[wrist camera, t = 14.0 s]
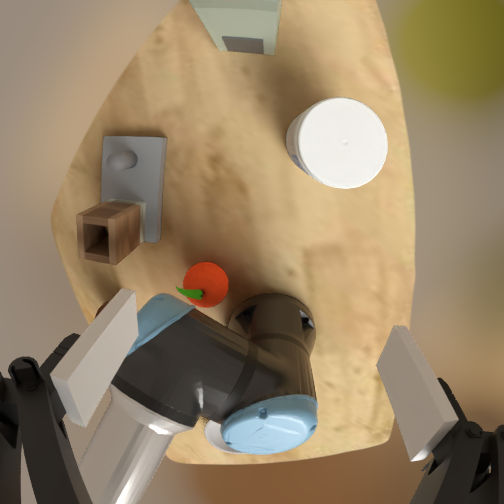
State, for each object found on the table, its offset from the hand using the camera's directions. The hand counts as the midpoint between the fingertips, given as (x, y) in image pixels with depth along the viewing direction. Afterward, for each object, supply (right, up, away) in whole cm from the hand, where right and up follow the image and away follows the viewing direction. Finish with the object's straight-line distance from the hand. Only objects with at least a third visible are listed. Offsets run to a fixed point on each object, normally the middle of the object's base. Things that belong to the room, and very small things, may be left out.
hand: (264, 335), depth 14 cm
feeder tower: (-1, +36, +20) cm, 41 cm away
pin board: (-19, +14, +30) cm, 38 cm away
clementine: (-8, 0, +35) cm, 35 cm away
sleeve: (-20, +9, +30) cm, 37 cm away
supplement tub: (+9, +20, +26) cm, 34 cm away
